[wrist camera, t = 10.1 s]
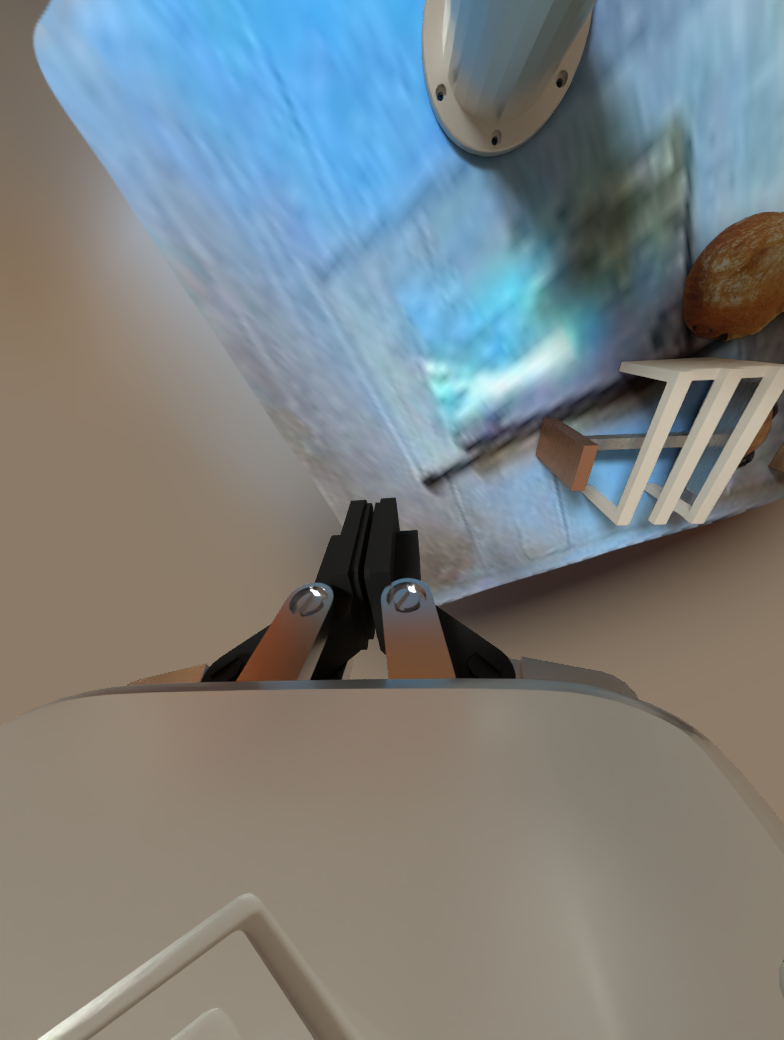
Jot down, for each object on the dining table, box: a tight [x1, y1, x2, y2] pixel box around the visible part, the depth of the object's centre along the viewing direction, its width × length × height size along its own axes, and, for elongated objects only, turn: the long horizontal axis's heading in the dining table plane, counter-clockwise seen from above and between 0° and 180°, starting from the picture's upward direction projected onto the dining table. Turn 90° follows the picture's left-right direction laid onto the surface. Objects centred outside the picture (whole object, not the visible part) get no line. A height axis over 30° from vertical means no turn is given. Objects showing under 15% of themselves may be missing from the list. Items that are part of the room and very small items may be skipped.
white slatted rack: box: [581, 357, 784, 525], centre depth 36 cm, size 17×10×9 cm, turn 3°
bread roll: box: [682, 212, 784, 342], centre depth 29 cm, size 10×10×8 cm
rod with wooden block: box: [536, 378, 761, 496], centre depth 35 cm, size 13×20×11 cm, turn 93°
